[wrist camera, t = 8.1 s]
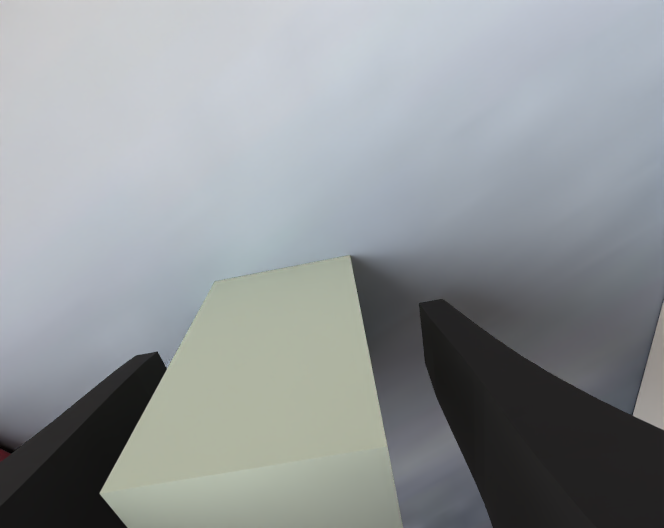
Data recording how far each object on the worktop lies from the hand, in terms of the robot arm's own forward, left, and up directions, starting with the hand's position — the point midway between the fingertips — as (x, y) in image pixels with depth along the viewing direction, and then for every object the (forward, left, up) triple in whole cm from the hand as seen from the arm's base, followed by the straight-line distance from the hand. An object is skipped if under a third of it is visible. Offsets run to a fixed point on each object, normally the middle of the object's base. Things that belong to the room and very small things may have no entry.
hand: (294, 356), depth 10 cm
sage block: (0, 0, -2) cm, 2 cm away
